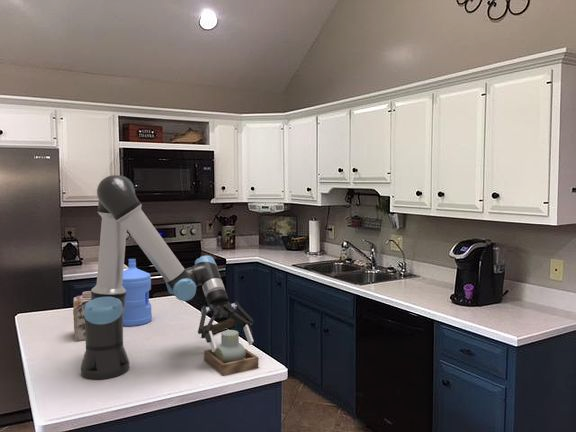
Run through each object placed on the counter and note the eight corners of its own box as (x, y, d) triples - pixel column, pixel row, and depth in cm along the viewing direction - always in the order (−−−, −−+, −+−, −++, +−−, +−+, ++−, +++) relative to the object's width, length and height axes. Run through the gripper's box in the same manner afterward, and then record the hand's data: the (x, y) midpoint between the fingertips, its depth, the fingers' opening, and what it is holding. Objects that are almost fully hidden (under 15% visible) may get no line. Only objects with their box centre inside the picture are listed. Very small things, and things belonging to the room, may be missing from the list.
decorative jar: (74, 342, 193) (73, 296, 192) (73, 333, 204) (72, 290, 202) (107, 337, 198) (105, 293, 197) (104, 329, 209) (103, 287, 208)
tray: (222, 375, 160) (222, 365, 159) (204, 360, 173) (204, 350, 173) (258, 367, 166) (258, 357, 166) (238, 353, 180) (238, 343, 180)
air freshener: (248, 363, 167) (248, 334, 166) (225, 368, 163) (225, 338, 162) (234, 353, 177) (234, 326, 176) (212, 358, 172) (212, 330, 171)
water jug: (124, 329, 210) (122, 263, 208) (109, 321, 221) (107, 259, 219) (158, 322, 220) (156, 259, 218) (142, 314, 232) (141, 255, 230)
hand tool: (229, 326, 215) (228, 315, 214) (236, 327, 212) (235, 316, 212) (196, 337, 199) (196, 326, 199) (204, 339, 197) (203, 327, 197)
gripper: (243, 295, 188) (262, 345, 176) (179, 304, 175) (195, 358, 163) (249, 284, 183) (269, 335, 171) (184, 292, 170) (201, 347, 159)
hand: (233, 346), depth 167 cm, fingers open, 13 cm apart
